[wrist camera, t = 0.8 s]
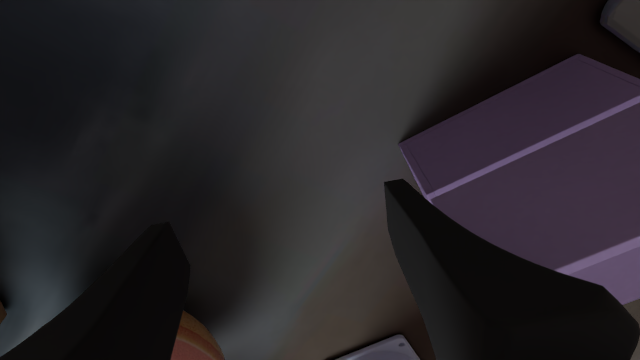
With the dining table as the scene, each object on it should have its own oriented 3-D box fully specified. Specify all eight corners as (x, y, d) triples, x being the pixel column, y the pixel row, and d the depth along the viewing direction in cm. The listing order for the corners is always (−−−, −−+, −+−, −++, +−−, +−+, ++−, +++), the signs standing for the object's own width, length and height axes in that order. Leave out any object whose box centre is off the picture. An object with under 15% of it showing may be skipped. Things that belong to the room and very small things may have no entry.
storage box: (397, 143, 24) (431, 204, 18) (578, 52, 21) (674, 92, 16) (463, 278, 31) (501, 350, 25) (604, 220, 28) (676, 285, 23)
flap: (433, 205, 18) (429, 199, 18) (671, 96, 16) (669, 88, 16) (490, 306, 12) (486, 297, 12) (883, 150, 10) (884, 138, 10)
